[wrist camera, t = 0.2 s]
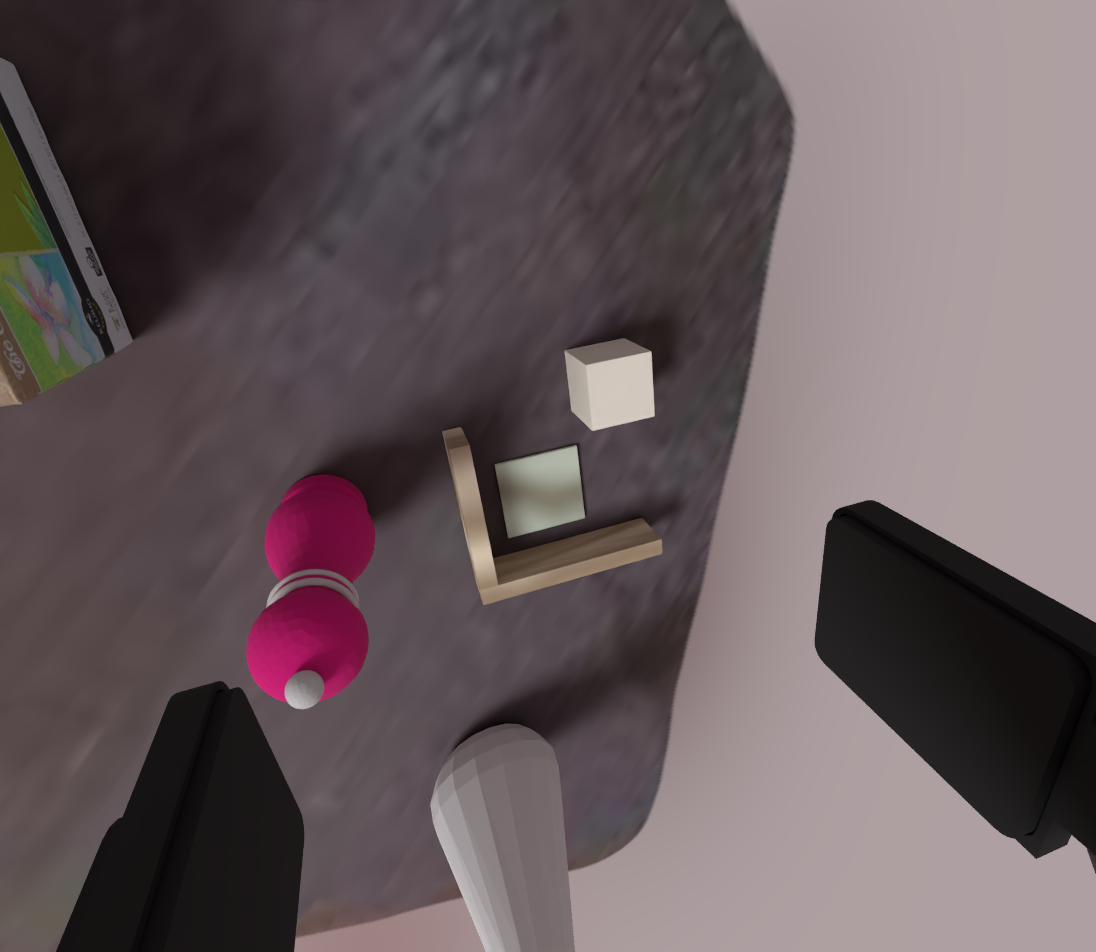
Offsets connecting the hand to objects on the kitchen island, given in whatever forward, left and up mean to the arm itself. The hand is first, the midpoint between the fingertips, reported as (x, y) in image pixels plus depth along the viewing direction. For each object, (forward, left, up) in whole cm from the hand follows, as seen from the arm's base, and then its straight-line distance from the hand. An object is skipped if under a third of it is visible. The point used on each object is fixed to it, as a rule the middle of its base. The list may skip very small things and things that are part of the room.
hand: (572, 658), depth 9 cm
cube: (+8, +13, -36) cm, 40 cm away
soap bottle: (+43, -3, -36) cm, 56 cm away
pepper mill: (+14, -10, -36) cm, 40 cm away
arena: (+16, +8, -36) cm, 40 cm away
